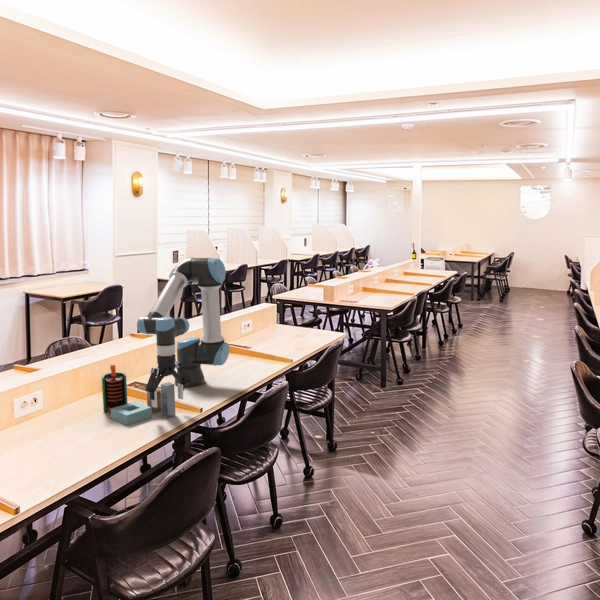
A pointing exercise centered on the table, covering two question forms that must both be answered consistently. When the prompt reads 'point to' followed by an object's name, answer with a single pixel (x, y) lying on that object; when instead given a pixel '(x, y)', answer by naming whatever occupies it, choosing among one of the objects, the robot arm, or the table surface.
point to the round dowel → (159, 407)
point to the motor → (114, 389)
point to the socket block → (131, 412)
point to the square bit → (168, 400)
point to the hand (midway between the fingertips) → (167, 402)
